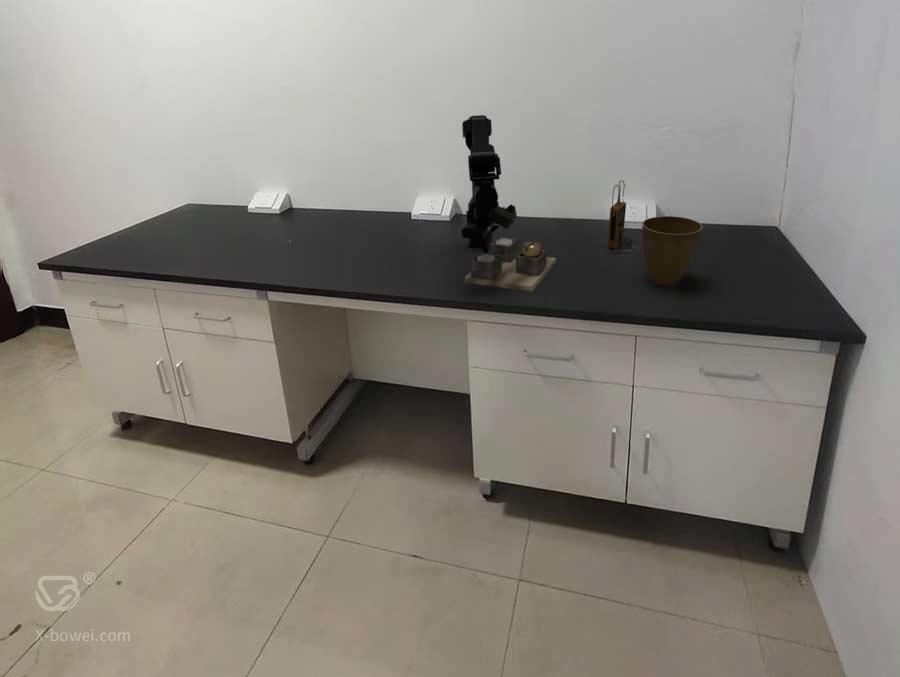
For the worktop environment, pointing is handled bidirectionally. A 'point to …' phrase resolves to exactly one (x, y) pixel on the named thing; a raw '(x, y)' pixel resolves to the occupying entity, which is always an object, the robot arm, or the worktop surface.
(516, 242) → the mount
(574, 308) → the worktop surface
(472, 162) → the robot arm
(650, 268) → the plant pot
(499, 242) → the knob back
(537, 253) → the brass dial
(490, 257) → the knob front
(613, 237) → the multimeter
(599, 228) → the worktop surface
